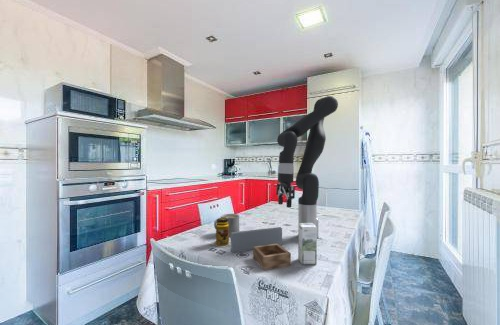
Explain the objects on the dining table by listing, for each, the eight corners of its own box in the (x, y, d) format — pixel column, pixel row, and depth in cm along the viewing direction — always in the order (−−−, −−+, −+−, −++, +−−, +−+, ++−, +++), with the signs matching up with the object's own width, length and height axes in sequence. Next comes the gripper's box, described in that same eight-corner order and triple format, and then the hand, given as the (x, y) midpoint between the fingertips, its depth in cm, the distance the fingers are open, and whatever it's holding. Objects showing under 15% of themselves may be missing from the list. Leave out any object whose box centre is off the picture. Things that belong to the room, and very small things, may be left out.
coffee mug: (241, 232, 125) (241, 214, 125) (236, 237, 115) (236, 218, 115) (218, 230, 128) (218, 213, 128) (211, 236, 118) (211, 217, 118)
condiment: (223, 247, 102) (223, 221, 102) (209, 244, 106) (209, 219, 106) (232, 242, 108) (232, 217, 108) (218, 239, 112) (218, 215, 112)
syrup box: (312, 258, 90) (312, 222, 90) (317, 265, 84) (316, 226, 84) (298, 258, 90) (297, 222, 90) (302, 265, 84) (301, 226, 84)
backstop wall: (280, 244, 106) (280, 227, 106) (282, 245, 104) (282, 228, 104) (230, 250, 98) (230, 232, 98) (232, 252, 96) (232, 233, 96)
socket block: (277, 254, 94) (277, 243, 94) (290, 265, 84) (290, 253, 84) (253, 257, 91) (253, 246, 91) (263, 269, 80) (263, 257, 80)
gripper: (300, 173, 105) (299, 208, 104) (285, 172, 118) (284, 203, 118) (286, 173, 102) (284, 208, 102) (272, 171, 116) (271, 203, 115)
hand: (284, 205), depth 110 cm, fingers open, 8 cm apart
